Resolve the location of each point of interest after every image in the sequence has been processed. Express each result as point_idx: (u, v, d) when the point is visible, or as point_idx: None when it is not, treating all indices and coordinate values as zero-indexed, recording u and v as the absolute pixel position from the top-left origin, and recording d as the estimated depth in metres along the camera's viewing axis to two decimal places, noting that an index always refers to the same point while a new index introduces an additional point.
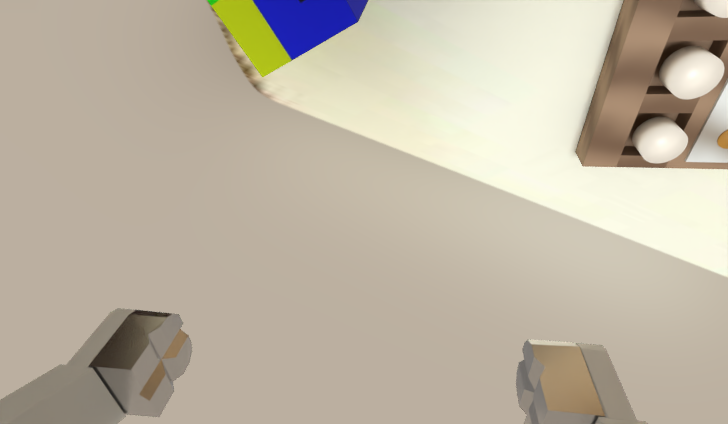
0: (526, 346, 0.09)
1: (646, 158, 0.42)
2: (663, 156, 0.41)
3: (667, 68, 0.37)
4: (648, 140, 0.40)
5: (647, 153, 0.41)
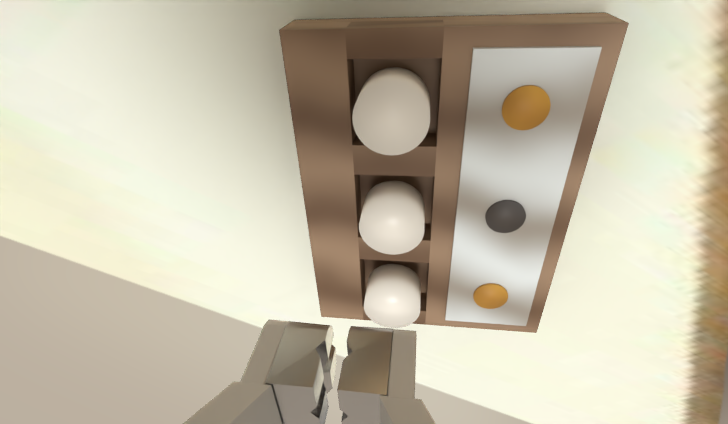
0: None
1: (376, 321, 0.30)
2: (397, 320, 0.29)
3: (362, 210, 0.26)
4: (367, 300, 0.29)
5: (374, 315, 0.29)
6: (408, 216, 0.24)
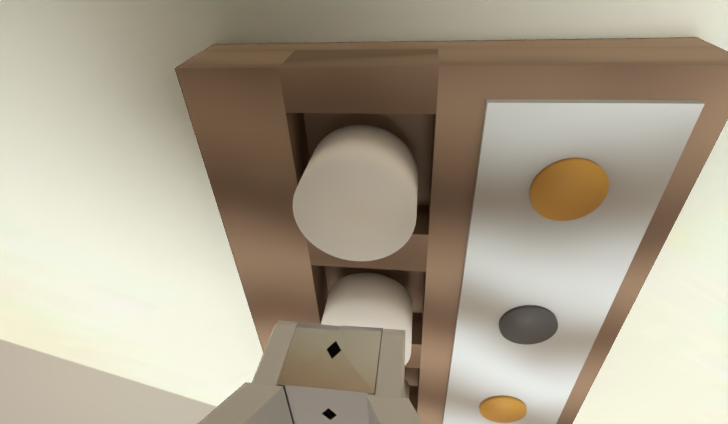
0: None
1: None
2: None
3: None
4: None
5: None
6: None
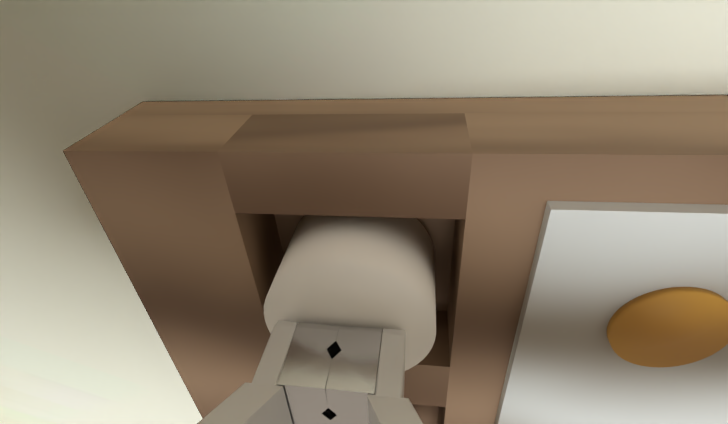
0: None
1: None
2: None
3: None
4: None
5: None
6: None
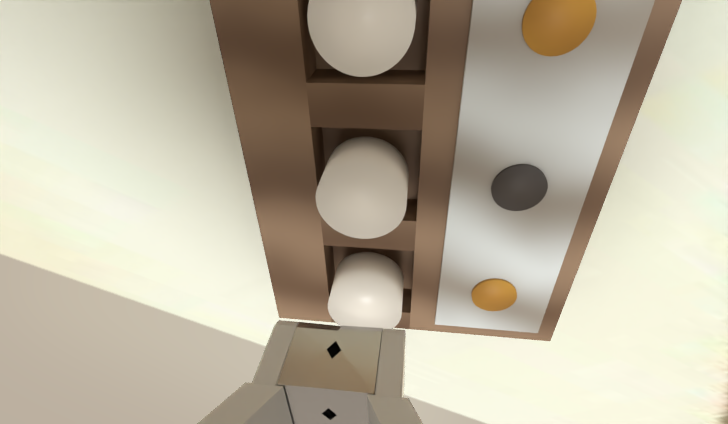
0: None
1: None
2: (371, 325, 0.22)
3: None
4: (331, 299, 0.22)
5: (342, 318, 0.22)
6: (384, 184, 0.17)
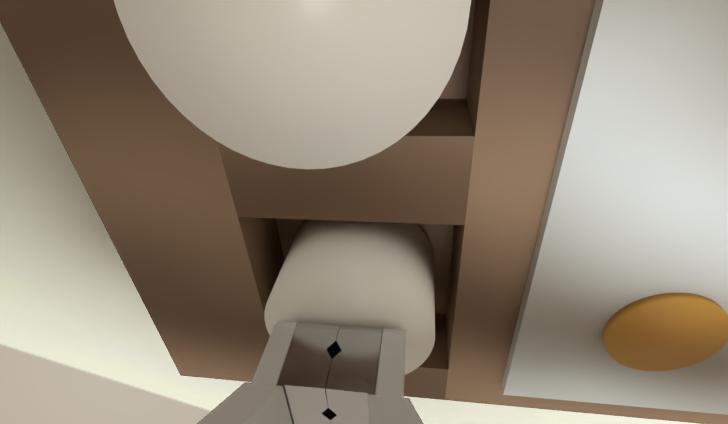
0: None
1: None
2: None
3: None
4: (271, 306, 0.09)
5: None
6: None
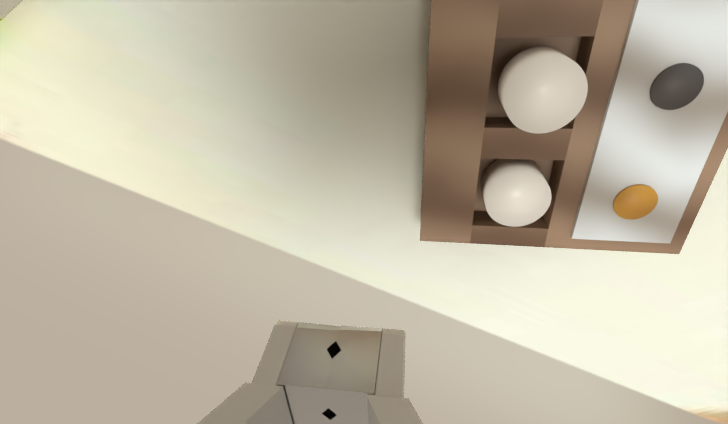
0: None
1: (496, 218, 0.27)
2: (520, 215, 0.26)
3: (502, 82, 0.22)
4: (490, 189, 0.26)
5: (495, 210, 0.26)
6: (570, 75, 0.20)
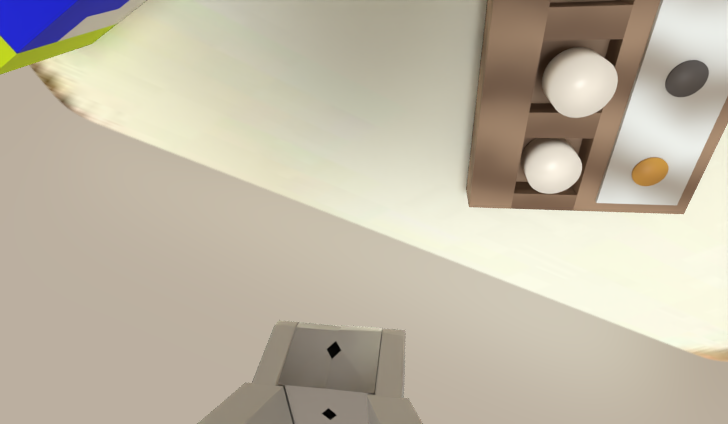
0: None
1: (535, 187, 0.33)
2: (555, 184, 0.32)
3: (547, 76, 0.28)
4: (532, 163, 0.31)
5: (535, 180, 0.32)
6: (604, 72, 0.26)
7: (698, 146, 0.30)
